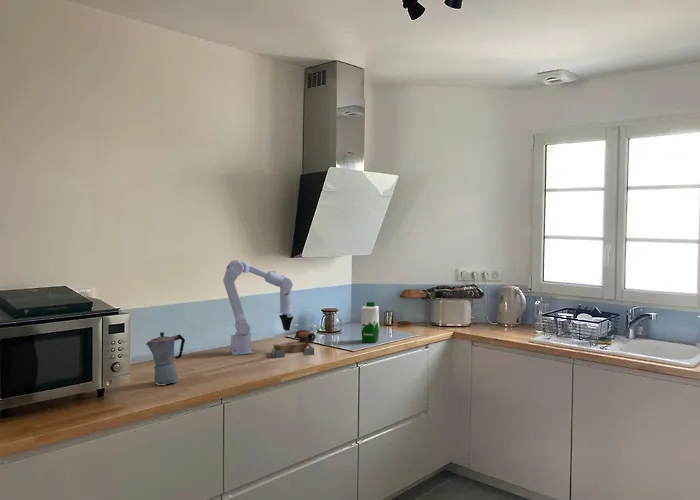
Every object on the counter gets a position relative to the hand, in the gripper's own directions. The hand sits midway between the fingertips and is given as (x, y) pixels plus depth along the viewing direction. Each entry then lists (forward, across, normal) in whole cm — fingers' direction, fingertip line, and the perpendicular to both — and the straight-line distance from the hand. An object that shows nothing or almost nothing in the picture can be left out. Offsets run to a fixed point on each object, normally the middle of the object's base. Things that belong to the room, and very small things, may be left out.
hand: (286, 329), depth 279 cm
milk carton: (+10, 0, -44) cm, 45 cm away
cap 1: (+9, -13, +7) cm, 17 cm away
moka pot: (+10, -40, +57) cm, 70 cm away
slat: (+10, -7, 0) cm, 12 cm away
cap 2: (+9, -13, -7) cm, 17 cm away
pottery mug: (+10, +7, -11) cm, 16 cm away
